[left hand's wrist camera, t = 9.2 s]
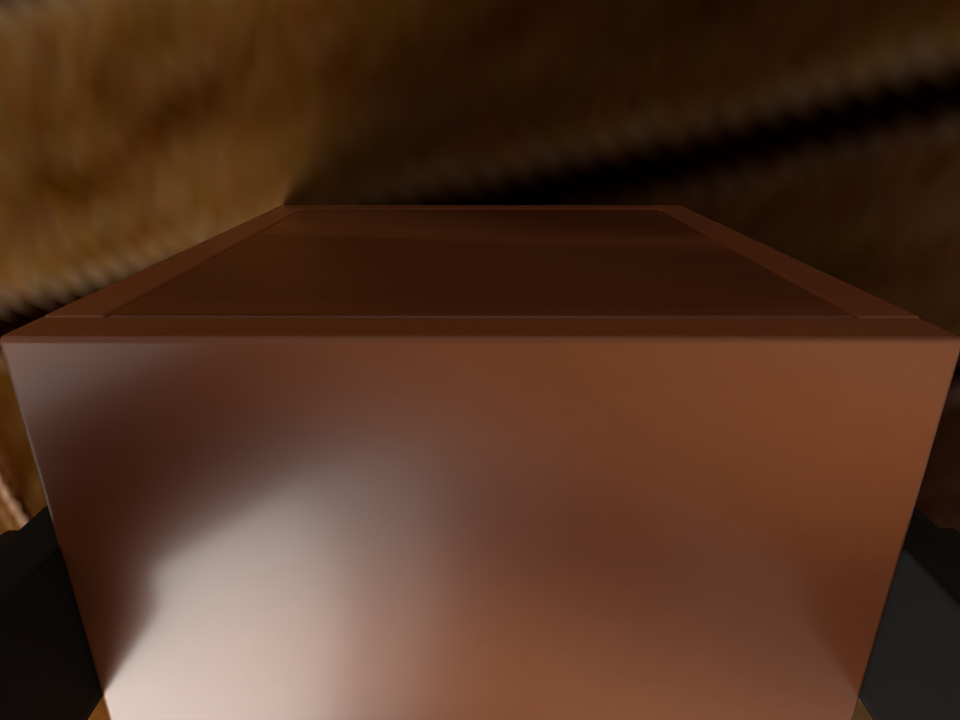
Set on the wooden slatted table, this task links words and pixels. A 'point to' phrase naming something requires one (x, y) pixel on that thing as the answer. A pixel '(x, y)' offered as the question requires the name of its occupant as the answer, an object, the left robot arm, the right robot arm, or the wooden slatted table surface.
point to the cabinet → (480, 468)
